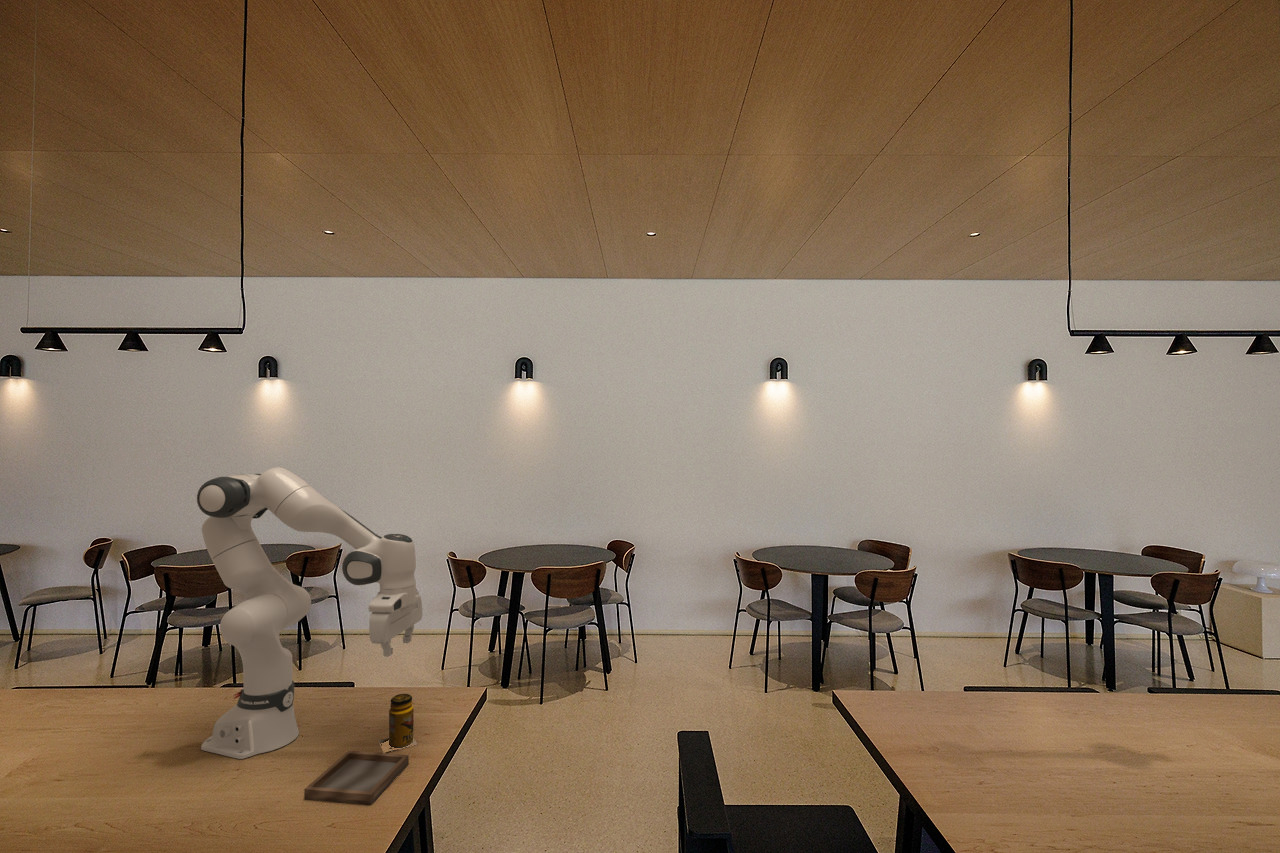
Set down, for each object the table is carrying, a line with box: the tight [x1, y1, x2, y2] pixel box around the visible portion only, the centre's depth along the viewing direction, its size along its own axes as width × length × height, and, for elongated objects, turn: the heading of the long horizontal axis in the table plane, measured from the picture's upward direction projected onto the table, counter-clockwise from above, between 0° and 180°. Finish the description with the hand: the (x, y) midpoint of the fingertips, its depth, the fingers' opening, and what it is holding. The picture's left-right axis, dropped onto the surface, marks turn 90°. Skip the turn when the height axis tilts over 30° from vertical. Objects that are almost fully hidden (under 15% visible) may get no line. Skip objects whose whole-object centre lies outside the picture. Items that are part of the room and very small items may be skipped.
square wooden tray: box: [303, 750, 410, 806], centre depth 139 cm, size 16×16×2 cm
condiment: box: [377, 693, 418, 752], centre depth 156 cm, size 7×8×12 cm
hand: (397, 648), depth 156 cm, fingers open, 8 cm apart
